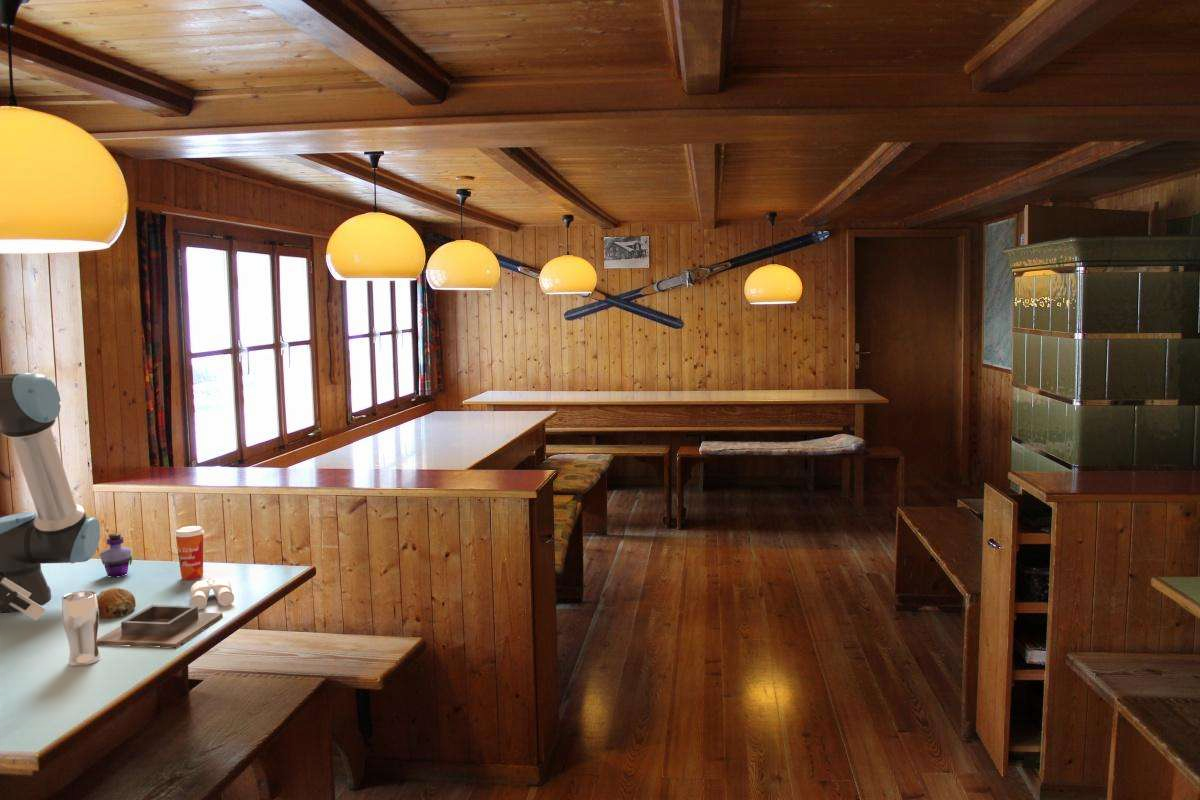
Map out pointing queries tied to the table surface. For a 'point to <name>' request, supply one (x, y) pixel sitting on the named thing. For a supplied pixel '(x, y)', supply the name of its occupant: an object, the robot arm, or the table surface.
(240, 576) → the table surface
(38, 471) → the robot arm
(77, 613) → the beer glass
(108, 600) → the bread roll
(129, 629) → the holder board
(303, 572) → the table surface
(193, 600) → the binoculars
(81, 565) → the table surface
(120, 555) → the potion bottle
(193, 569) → the paper cup
